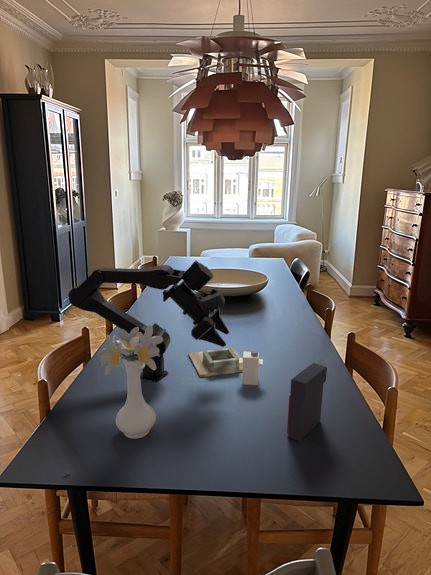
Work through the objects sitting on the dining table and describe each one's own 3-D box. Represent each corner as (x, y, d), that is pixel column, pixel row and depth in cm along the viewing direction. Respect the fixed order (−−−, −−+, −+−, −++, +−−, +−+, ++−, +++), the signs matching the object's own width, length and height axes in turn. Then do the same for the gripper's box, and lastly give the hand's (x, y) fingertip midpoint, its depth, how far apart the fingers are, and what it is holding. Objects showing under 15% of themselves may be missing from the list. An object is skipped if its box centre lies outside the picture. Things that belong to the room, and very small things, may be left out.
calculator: (306, 415, 105) (310, 361, 101) (322, 421, 102) (327, 366, 98) (284, 436, 97) (288, 377, 93) (301, 443, 94) (305, 384, 90)
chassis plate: (199, 377, 124) (199, 365, 123) (188, 355, 139) (188, 344, 138) (250, 370, 128) (250, 358, 127) (233, 350, 143) (234, 339, 142)
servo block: (238, 383, 120) (238, 354, 118) (239, 377, 124) (239, 348, 122) (261, 385, 120) (263, 355, 117) (262, 378, 123) (263, 350, 121)
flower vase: (169, 409, 107) (167, 318, 101) (154, 456, 90) (150, 349, 83) (120, 407, 108) (114, 316, 101) (95, 453, 90) (86, 347, 84)
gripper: (203, 291, 106) (245, 333, 108) (212, 274, 124) (248, 311, 126) (173, 319, 109) (215, 359, 111) (187, 298, 127) (222, 333, 129)
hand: (226, 339), depth 119 cm, fingers open, 9 cm apart
